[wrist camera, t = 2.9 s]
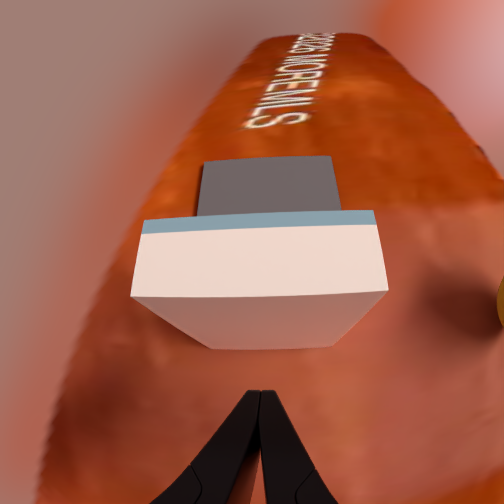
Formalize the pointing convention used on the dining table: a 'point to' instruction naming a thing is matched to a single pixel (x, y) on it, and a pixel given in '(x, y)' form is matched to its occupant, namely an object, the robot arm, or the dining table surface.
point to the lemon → (501, 302)
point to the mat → (268, 186)
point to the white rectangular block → (261, 276)
